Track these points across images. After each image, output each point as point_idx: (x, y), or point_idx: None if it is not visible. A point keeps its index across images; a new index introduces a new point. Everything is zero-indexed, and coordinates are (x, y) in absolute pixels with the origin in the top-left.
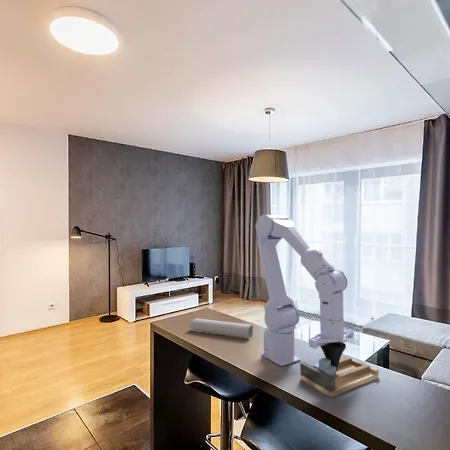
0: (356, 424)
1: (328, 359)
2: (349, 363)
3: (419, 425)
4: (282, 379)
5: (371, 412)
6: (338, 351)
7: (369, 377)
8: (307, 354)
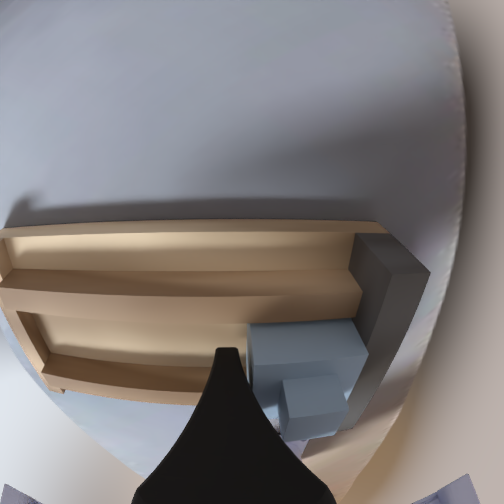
0: (449, 38)
1: (288, 426)
2: (62, 359)
3: None
4: None
5: (325, 14)
6: (248, 479)
7: (41, 234)
8: (160, 443)
